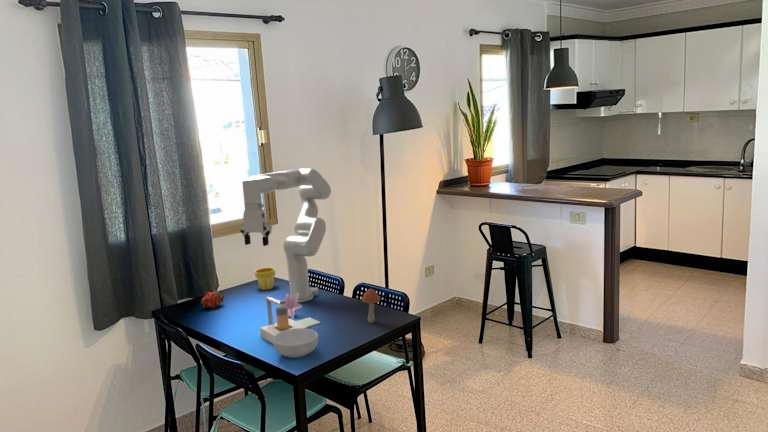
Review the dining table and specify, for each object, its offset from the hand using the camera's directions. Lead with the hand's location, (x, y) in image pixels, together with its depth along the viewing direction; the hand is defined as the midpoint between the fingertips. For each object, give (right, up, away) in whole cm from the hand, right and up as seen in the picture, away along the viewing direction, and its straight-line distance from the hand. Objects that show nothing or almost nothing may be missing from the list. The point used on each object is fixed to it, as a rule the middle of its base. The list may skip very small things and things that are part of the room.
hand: (256, 244), depth 262 cm
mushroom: (+51, -33, -9) cm, 62 cm away
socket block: (+14, -37, -17) cm, 42 cm away
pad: (+23, -34, -6) cm, 41 cm away
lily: (+14, -32, +7) cm, 36 cm away
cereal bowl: (+23, -40, -36) cm, 59 cm away
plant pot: (-6, -25, +50) cm, 57 cm away
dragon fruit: (-26, -32, +24) cm, 48 cm away
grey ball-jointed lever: (+11, -23, -17) cm, 31 cm away
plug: (+15, -37, -19) cm, 44 cm away
